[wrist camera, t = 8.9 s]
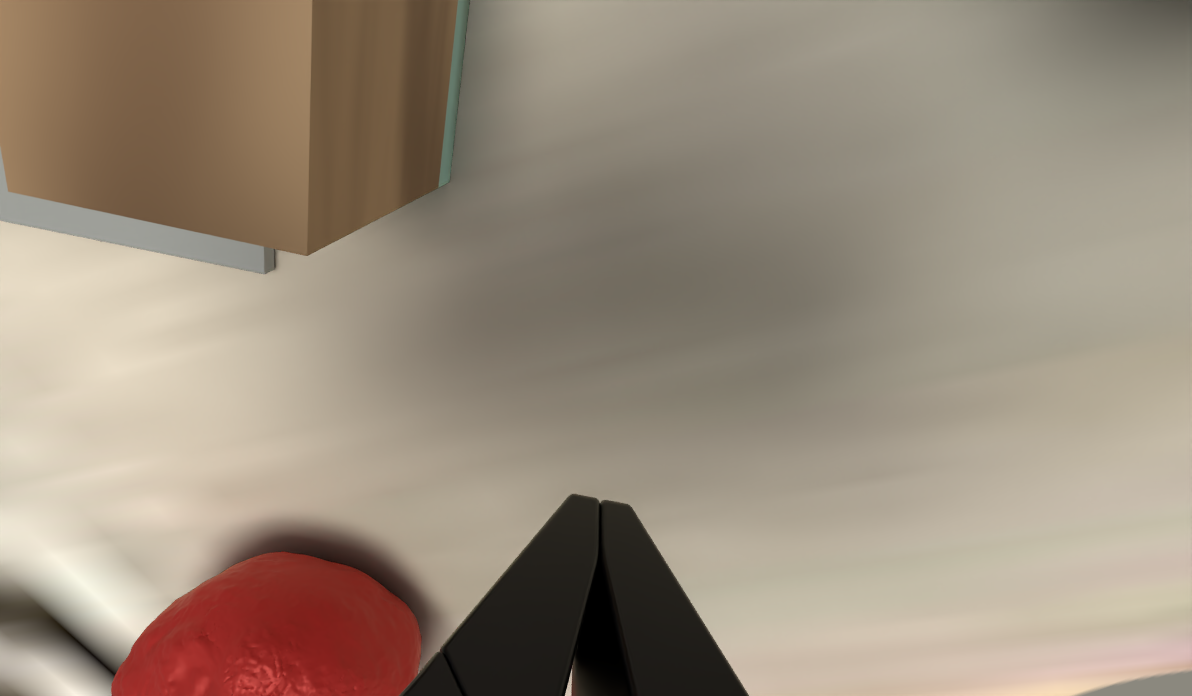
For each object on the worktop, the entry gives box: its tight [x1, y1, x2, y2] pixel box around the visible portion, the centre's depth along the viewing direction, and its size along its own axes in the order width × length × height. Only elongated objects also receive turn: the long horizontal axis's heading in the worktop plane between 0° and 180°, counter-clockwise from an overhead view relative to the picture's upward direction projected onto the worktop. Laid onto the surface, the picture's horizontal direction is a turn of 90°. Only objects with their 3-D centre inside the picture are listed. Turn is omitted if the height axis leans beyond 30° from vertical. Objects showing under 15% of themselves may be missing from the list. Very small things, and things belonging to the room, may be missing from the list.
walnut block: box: [0, 0, 470, 256], centre depth 13 cm, size 5×6×9 cm
